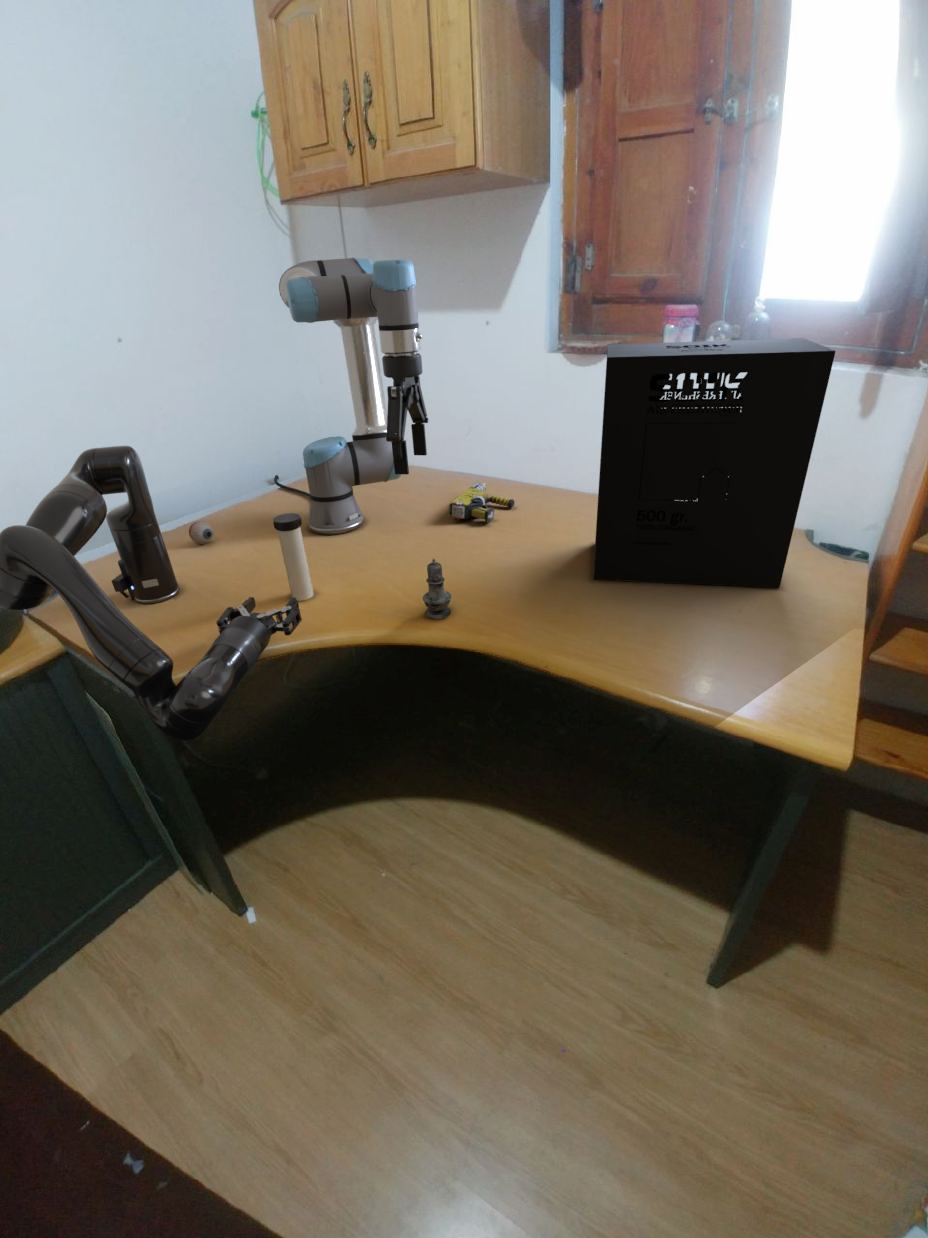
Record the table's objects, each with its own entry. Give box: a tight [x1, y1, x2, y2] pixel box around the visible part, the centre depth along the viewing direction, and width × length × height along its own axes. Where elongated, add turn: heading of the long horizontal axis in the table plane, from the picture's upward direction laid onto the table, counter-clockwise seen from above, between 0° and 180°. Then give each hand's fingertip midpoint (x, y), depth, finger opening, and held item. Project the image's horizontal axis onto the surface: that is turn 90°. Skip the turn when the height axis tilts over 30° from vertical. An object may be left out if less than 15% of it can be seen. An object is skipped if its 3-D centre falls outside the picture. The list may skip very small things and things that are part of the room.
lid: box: [272, 512, 303, 532], centre depth 124 cm, size 6×6×2 cm
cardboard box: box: [592, 337, 836, 589], centre depth 125 cm, size 38×20×45 cm, turn 78°
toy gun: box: [448, 481, 515, 523], centre depth 173 cm, size 5×24×15 cm
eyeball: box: [188, 520, 214, 545], centre depth 161 cm, size 6×6×6 cm
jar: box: [276, 526, 315, 602], centre depth 128 cm, size 5×5×18 cm
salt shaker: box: [422, 558, 453, 620], centre depth 120 cm, size 6×6×12 cm
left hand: (274, 601), depth 118 cm, fingers open, 8 cm apart
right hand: (411, 464), depth 126 cm, fingers open, 13 cm apart
